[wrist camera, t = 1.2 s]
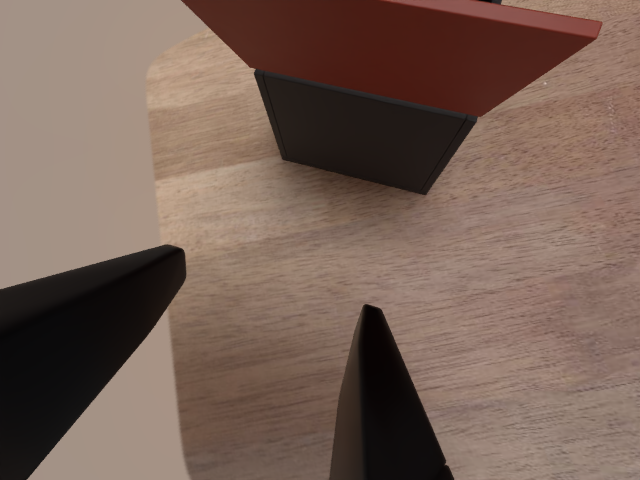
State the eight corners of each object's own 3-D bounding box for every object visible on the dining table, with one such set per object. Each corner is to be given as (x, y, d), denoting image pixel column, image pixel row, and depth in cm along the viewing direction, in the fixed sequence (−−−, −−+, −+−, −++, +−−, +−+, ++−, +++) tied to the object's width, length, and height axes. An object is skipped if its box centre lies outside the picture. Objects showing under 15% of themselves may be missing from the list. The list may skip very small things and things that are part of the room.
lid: (483, 109, 14) (480, 117, 14) (251, 60, 15) (249, 67, 15) (604, 21, 6) (597, 39, 7) (138, -58, 8) (136, -42, 8)
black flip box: (425, 195, 22) (484, 111, 14) (282, 159, 24) (249, 61, 15) (463, 33, 26) (530, -119, 17) (336, 10, 27) (336, -142, 18)
